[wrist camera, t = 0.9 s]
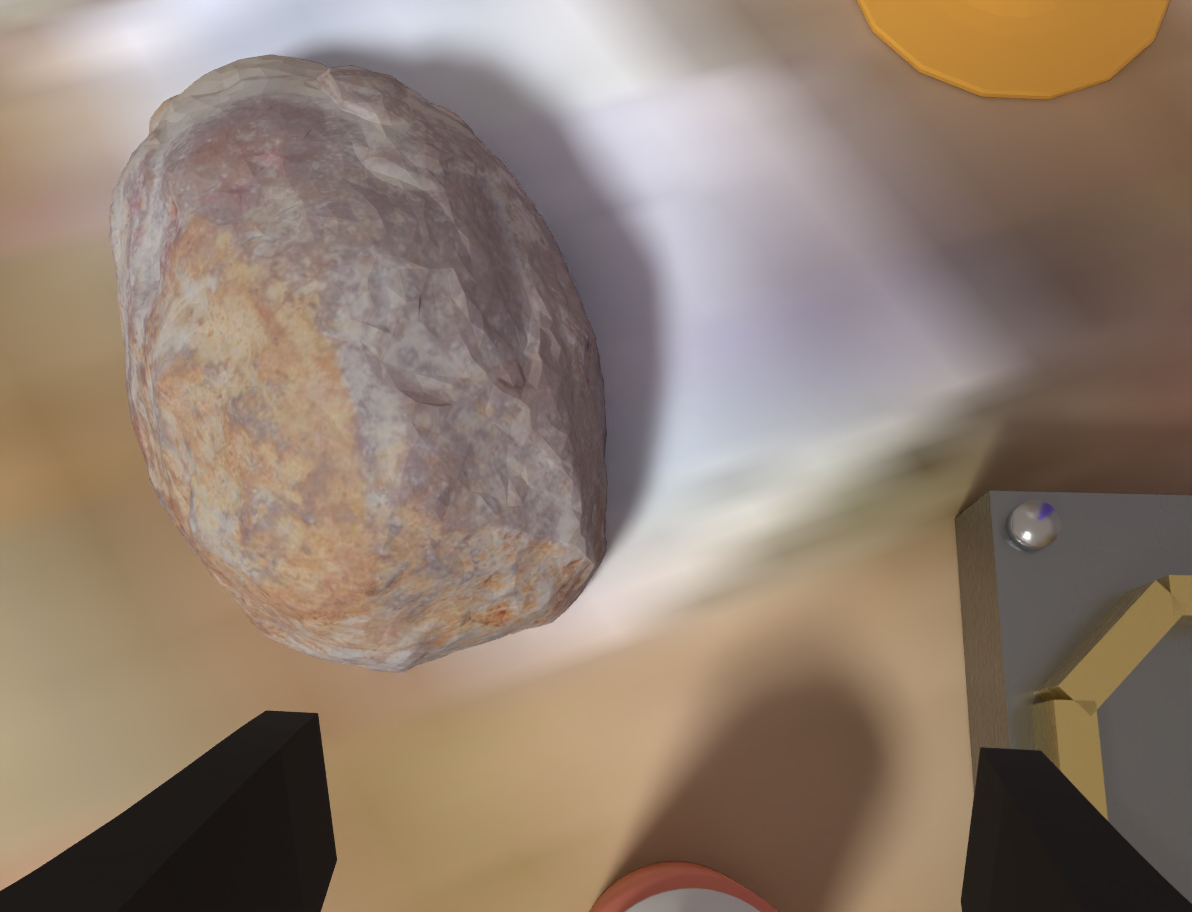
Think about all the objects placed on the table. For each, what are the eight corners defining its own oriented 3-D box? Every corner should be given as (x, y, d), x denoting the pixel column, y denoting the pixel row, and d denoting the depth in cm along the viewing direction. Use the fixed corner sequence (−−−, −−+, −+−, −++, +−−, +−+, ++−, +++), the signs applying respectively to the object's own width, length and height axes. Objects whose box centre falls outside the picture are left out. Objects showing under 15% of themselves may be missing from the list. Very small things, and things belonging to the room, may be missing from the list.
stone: (297, 191, 36) (-41, 150, 28) (476, -46, 30) (109, -179, 22) (507, 680, 31) (170, 787, 24) (767, 514, 25) (429, 586, 18)
